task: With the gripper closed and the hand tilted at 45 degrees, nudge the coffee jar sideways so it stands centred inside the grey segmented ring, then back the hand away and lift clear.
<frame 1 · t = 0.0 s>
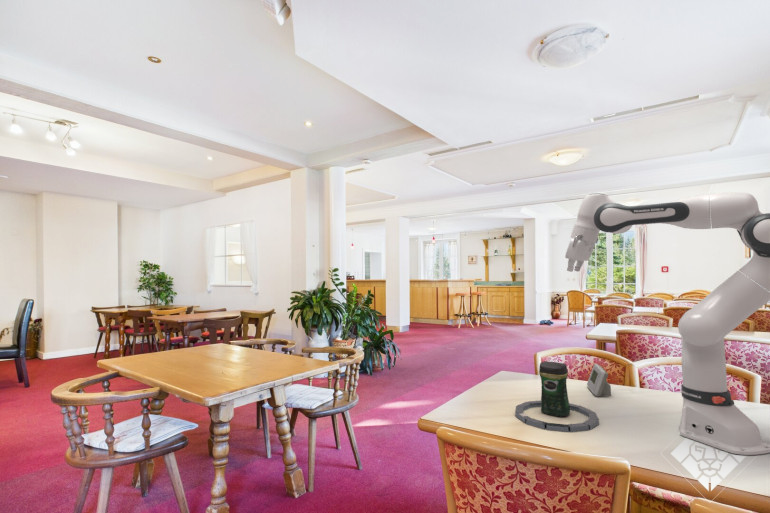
hand: (573, 271, 152), 52 cm above the table, tool tilted 20°, fingers open, 8 cm apart
grey segmented ring: (555, 416, 143), on the table
digital clock: (597, 392, 170), on the table
coffee jar: (555, 413, 146), resting in grey segmented ring
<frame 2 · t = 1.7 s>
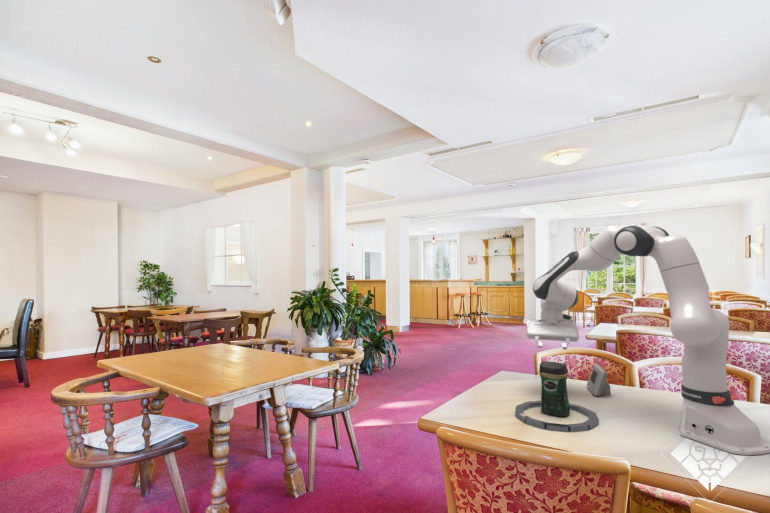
hand: (552, 347, 162), 21 cm above the table, tool tilted 45°, fingers open, 8 cm apart
nothing on the table moved.
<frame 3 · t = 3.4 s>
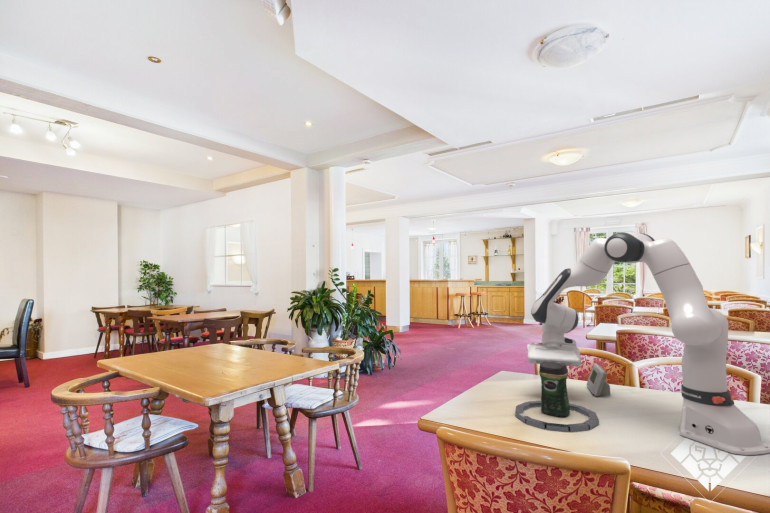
hand: (553, 373, 158), 12 cm above the table, tool tilted 45°, fingers closed
nothing on the table moved.
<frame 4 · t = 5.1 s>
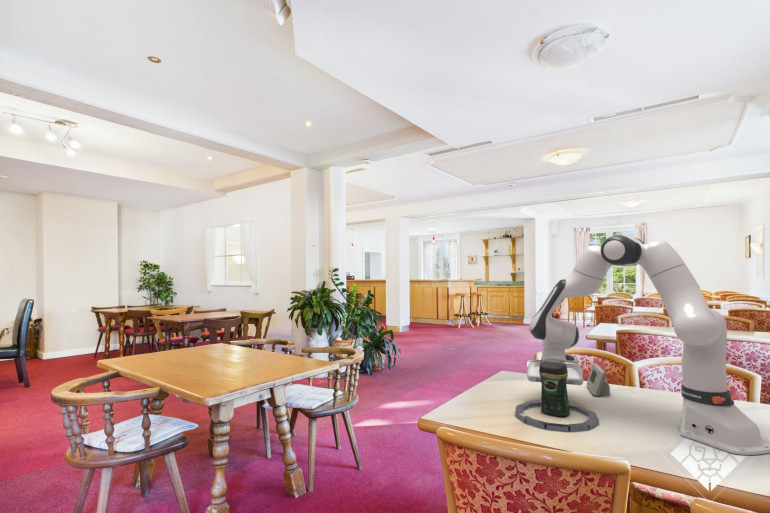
hand: (554, 392, 151), 6 cm above the table, tool tilted 45°, fingers closed
coffee jar: (555, 413, 146), resting in grey segmented ring, touching gripper
everything else where it was.
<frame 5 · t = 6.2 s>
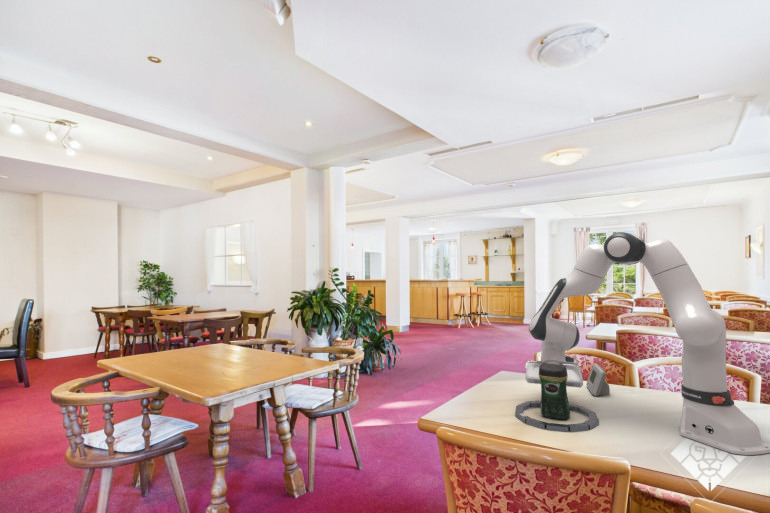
hand: (553, 394, 148), 6 cm above the table, tool tilted 45°, fingers closed
coffee jar: (555, 416, 143), resting in grey segmented ring, touching gripper
everything else where it was.
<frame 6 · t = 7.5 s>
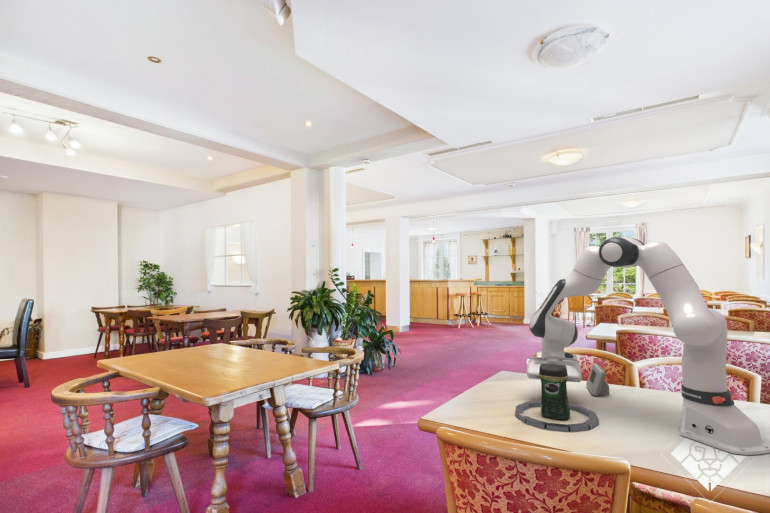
hand: (554, 389, 154), 7 cm above the table, tool tilted 45°, fingers closed
coffee jar: (555, 416, 143), resting in grey segmented ring
everything else where it was.
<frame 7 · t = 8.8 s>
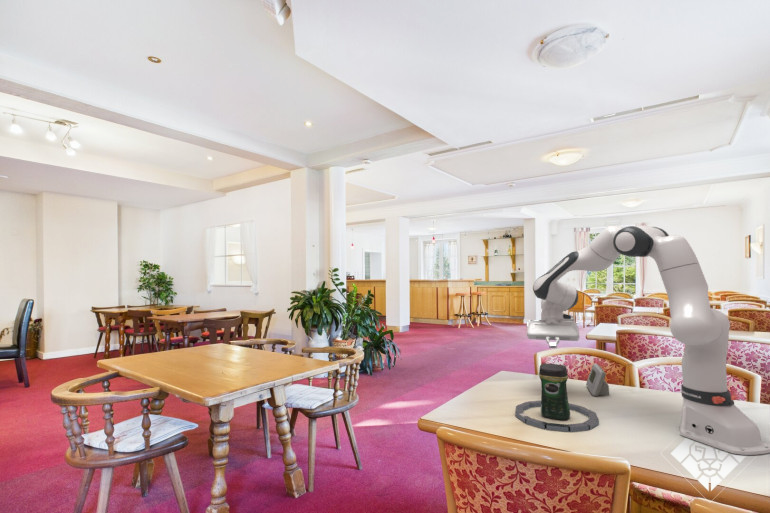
hand: (552, 347, 162), 21 cm above the table, tool tilted 45°, fingers closed
nothing on the table moved.
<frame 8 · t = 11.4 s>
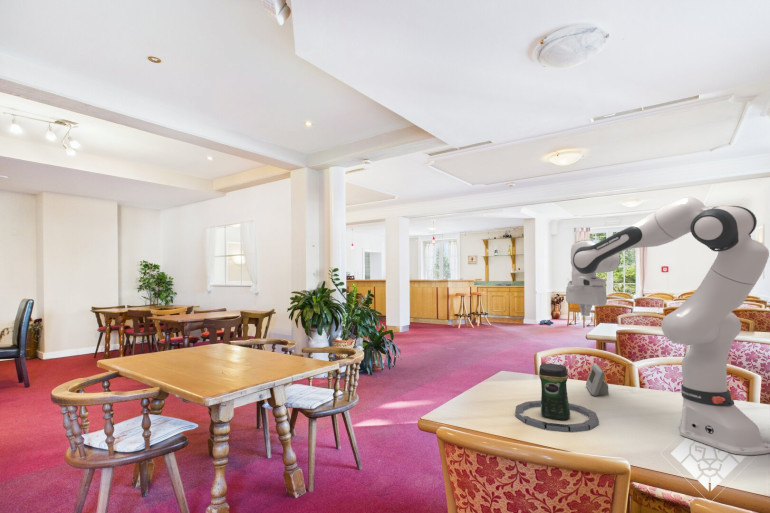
hand: (585, 315, 159), 34 cm above the table, tool pointing down, fingers closed
nothing on the table moved.
at the end: coffee jar 0.7 cm from the grey segmented ring (horizontally); coffee jar tilted 0°; coffee jar touching table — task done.
